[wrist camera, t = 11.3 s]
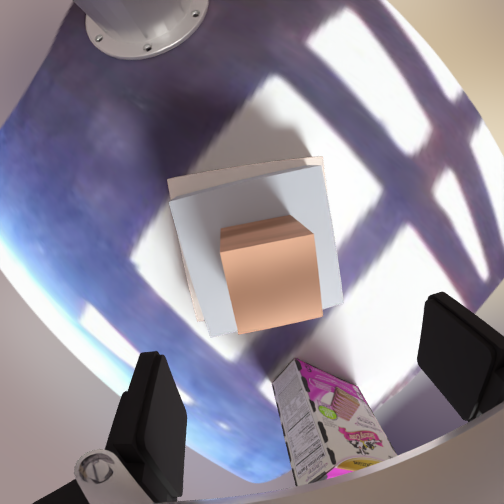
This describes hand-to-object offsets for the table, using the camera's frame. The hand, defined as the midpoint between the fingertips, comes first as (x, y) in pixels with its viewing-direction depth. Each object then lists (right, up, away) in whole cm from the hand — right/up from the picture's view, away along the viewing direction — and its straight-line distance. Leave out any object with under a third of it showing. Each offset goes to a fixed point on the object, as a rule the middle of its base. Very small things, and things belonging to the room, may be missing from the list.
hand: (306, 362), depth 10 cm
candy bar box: (+6, -13, +26) cm, 30 cm away
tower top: (-1, +4, +17) cm, 17 cm away
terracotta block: (-1, +3, +13) cm, 13 cm away
